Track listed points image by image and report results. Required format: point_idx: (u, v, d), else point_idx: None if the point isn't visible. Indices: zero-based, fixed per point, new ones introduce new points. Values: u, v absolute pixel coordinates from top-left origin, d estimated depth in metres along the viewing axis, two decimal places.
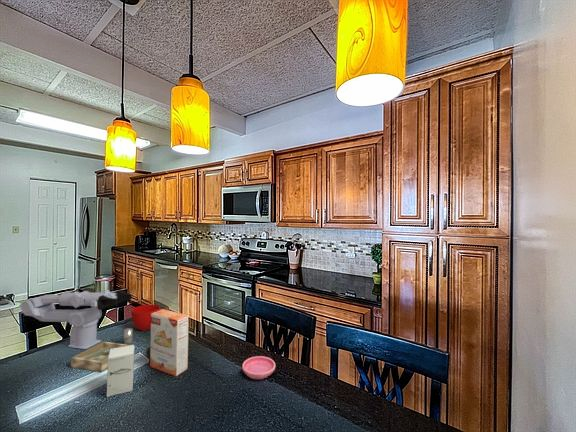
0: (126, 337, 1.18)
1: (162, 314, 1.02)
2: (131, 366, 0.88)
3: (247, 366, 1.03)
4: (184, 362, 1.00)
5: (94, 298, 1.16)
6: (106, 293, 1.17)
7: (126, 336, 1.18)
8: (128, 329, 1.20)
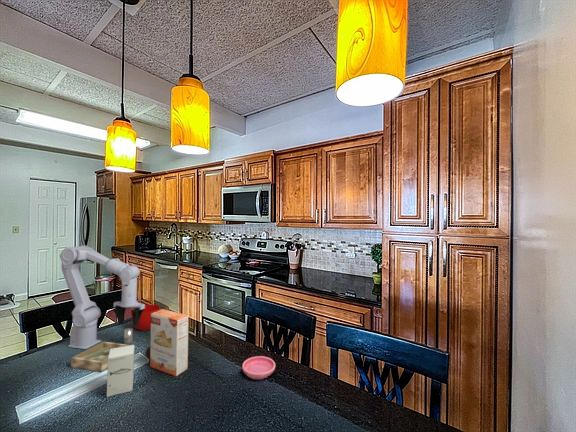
0: (126, 337, 1.18)
1: (161, 314, 1.02)
2: (131, 366, 0.88)
3: (247, 366, 1.03)
4: (184, 362, 1.00)
5: (136, 295, 1.20)
6: None
7: (126, 336, 1.18)
8: (128, 329, 1.20)
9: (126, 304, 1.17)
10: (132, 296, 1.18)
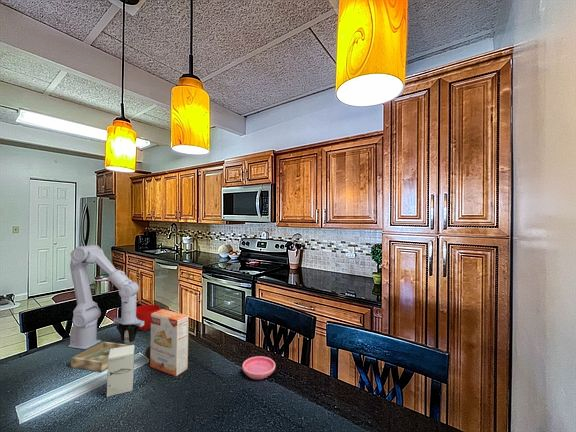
0: (126, 337, 1.18)
1: (161, 314, 1.02)
2: (131, 366, 0.88)
3: (247, 366, 1.03)
4: (184, 362, 1.00)
5: (135, 312, 1.20)
6: None
7: (126, 336, 1.18)
8: None
9: (126, 321, 1.17)
10: (132, 313, 1.18)
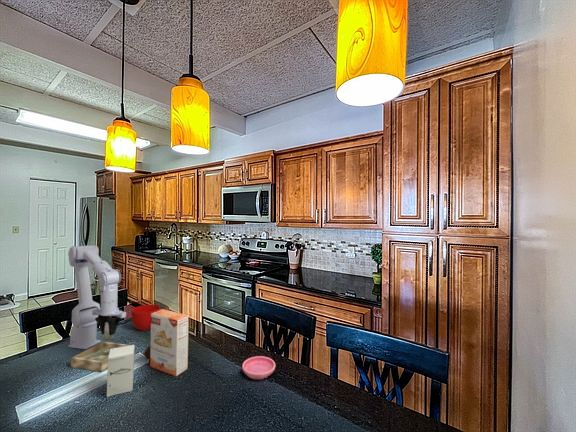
0: (106, 329, 1.08)
1: (162, 314, 1.02)
2: (131, 366, 0.88)
3: (247, 366, 1.03)
4: (184, 362, 1.00)
5: (116, 302, 1.10)
6: None
7: (106, 328, 1.08)
8: None
9: (105, 312, 1.07)
10: (112, 303, 1.08)
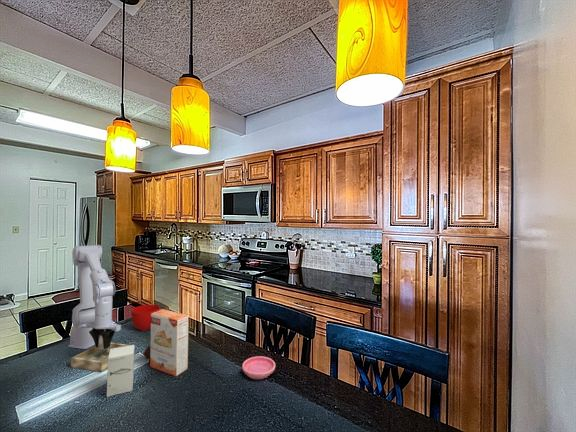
0: (100, 343, 1.06)
1: (161, 314, 1.02)
2: (131, 366, 0.88)
3: (247, 366, 1.03)
4: (184, 362, 1.00)
5: (111, 315, 1.08)
6: None
7: (100, 342, 1.06)
8: None
9: (99, 325, 1.04)
10: (106, 316, 1.06)
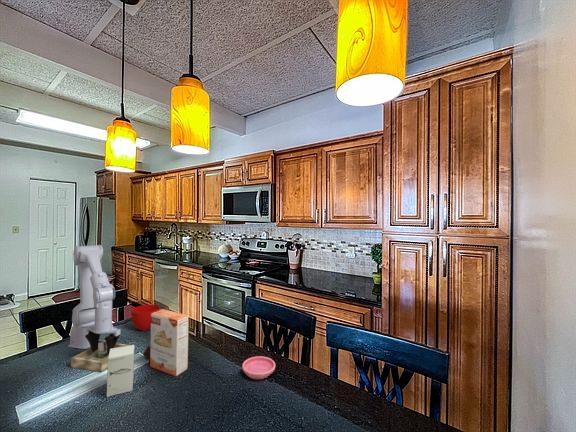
0: (100, 350, 1.06)
1: (162, 314, 1.02)
2: (131, 366, 0.88)
3: (247, 366, 1.03)
4: (184, 362, 1.00)
5: (111, 319, 1.08)
6: None
7: (100, 349, 1.06)
8: (103, 341, 1.07)
9: (99, 330, 1.04)
10: (106, 321, 1.06)
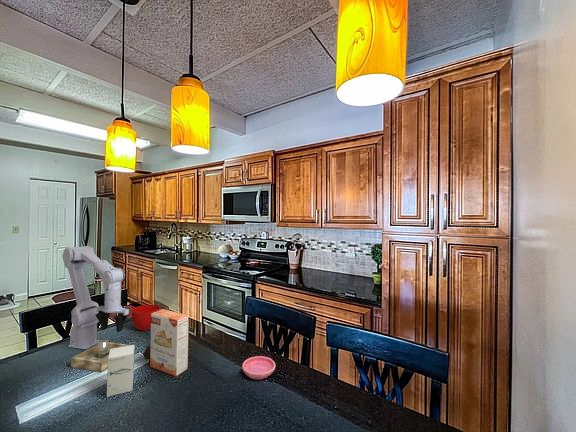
0: (100, 350, 1.06)
1: (162, 314, 1.02)
2: (131, 366, 0.88)
3: (247, 366, 1.02)
4: (184, 362, 1.00)
5: (120, 300, 1.14)
6: None
7: (100, 349, 1.06)
8: (103, 341, 1.07)
9: (109, 309, 1.11)
10: (115, 301, 1.12)
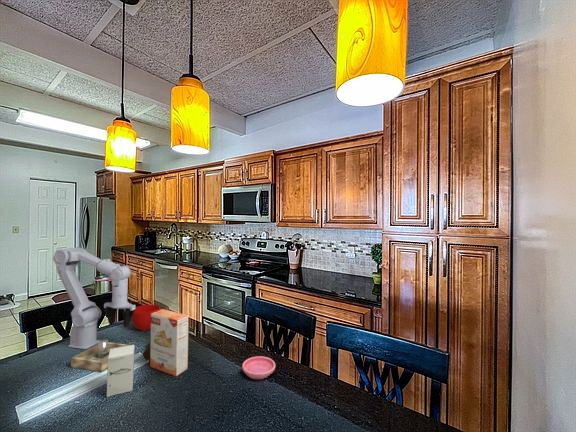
0: (100, 350, 1.06)
1: (161, 314, 1.02)
2: (131, 366, 0.88)
3: (247, 366, 1.02)
4: (184, 362, 1.00)
5: (126, 296, 1.19)
6: None
7: (100, 349, 1.06)
8: (103, 341, 1.07)
9: (116, 305, 1.16)
10: (123, 297, 1.17)
